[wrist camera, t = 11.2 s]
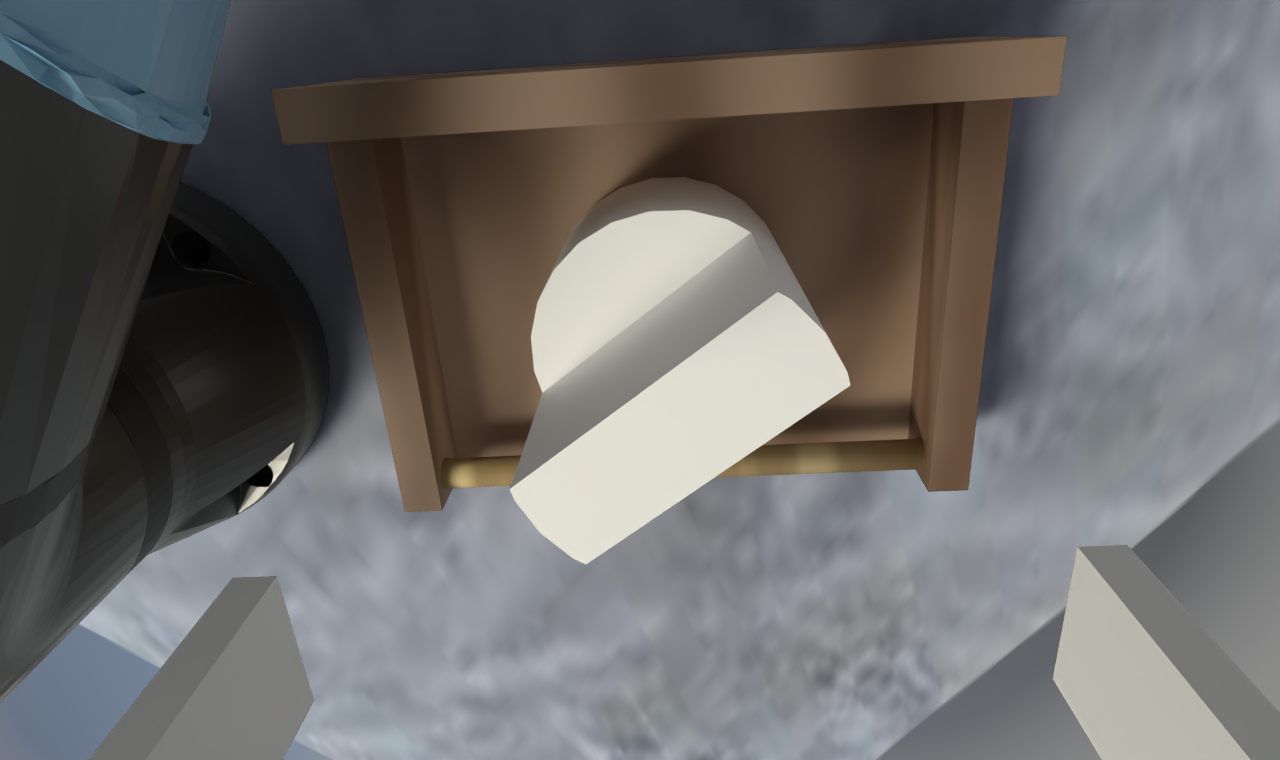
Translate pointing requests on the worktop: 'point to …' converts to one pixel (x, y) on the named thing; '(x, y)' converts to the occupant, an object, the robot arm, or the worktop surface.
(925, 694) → the worktop surface
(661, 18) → the worktop surface
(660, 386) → the cylinder with rectangular tab
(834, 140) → the caddy
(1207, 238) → the worktop surface
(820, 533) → the worktop surface
